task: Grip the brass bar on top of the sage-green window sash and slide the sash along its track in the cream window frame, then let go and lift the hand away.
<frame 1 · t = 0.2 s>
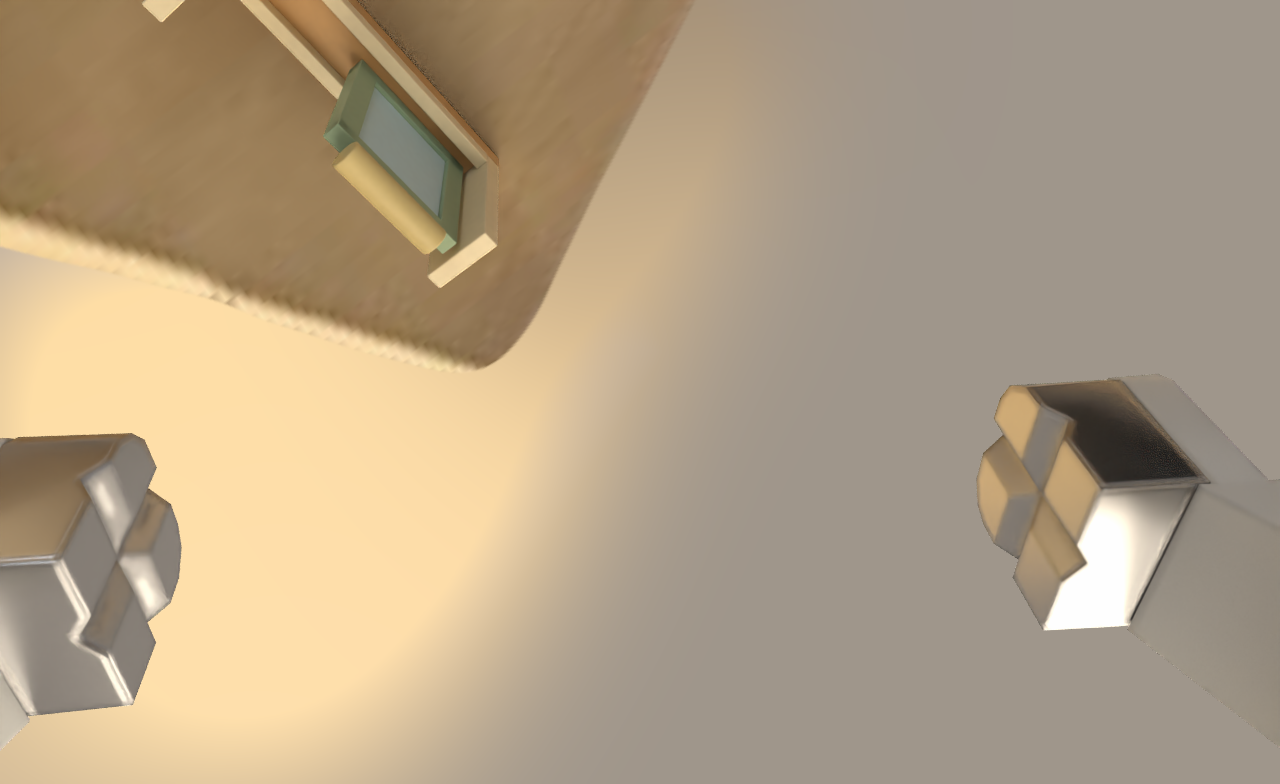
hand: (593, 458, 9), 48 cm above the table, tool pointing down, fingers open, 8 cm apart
sash: (399, 159, 49), point 7 cm above the table, slide at 0.0 cm
window frame: (364, 60, 53), on the table
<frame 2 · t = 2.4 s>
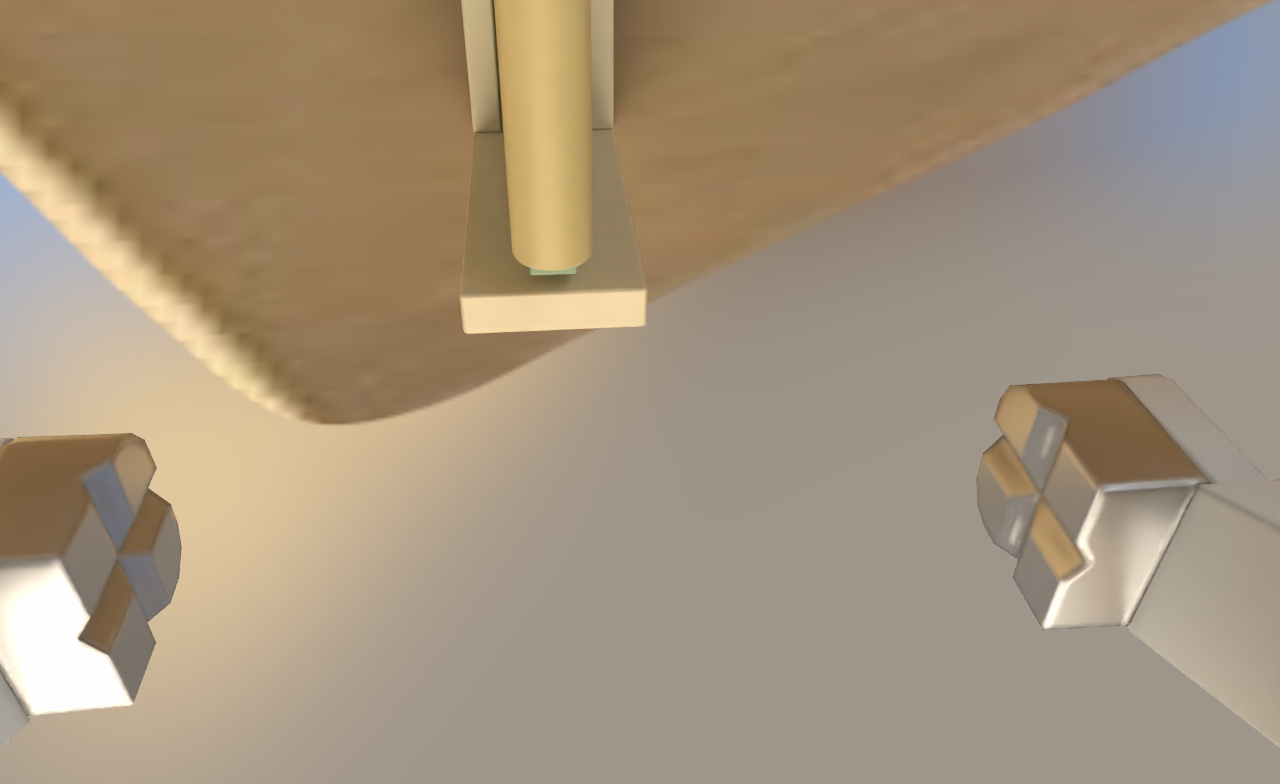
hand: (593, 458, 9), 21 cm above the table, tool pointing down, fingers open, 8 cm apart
sash: (540, 23, 21), point 7 cm above the table, slide at 0.0 cm
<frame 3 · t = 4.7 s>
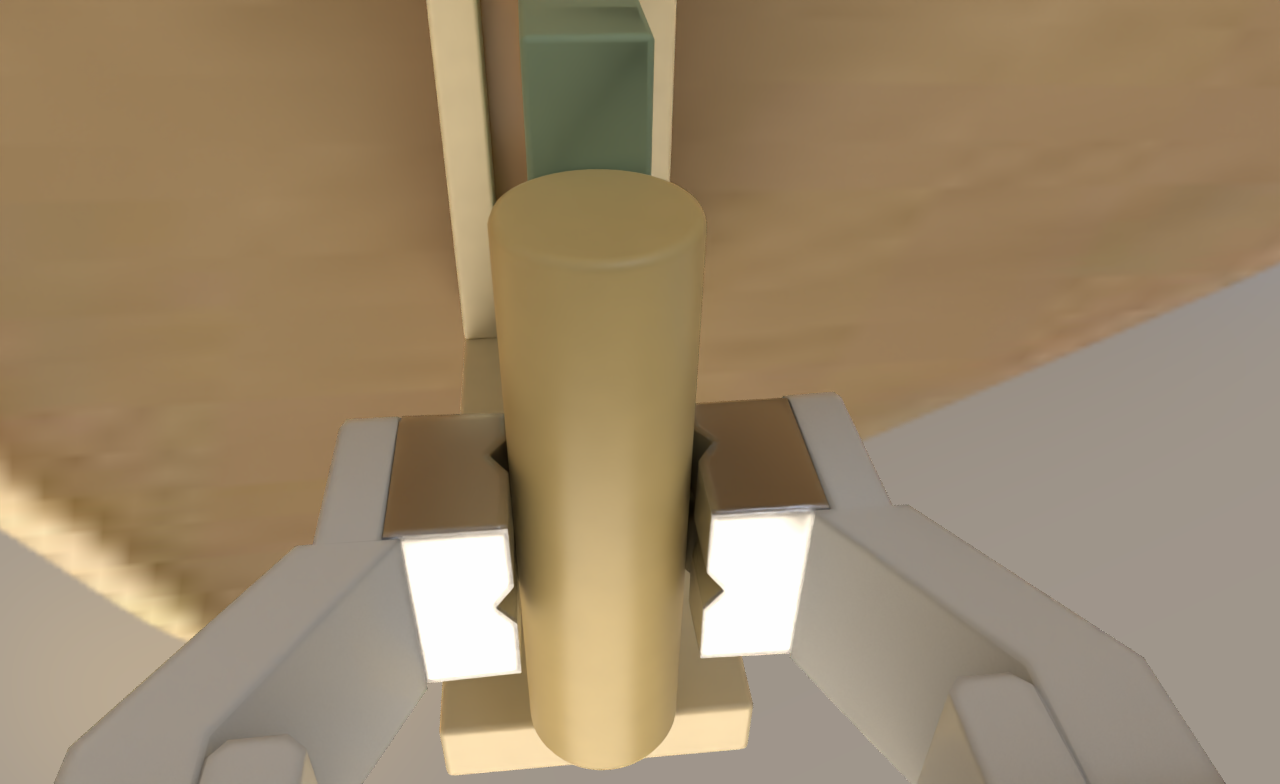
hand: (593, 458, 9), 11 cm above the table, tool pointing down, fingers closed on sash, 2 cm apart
sash: (573, 260, 12), point 7 cm above the table, slide at 0.0 cm, touching gripper
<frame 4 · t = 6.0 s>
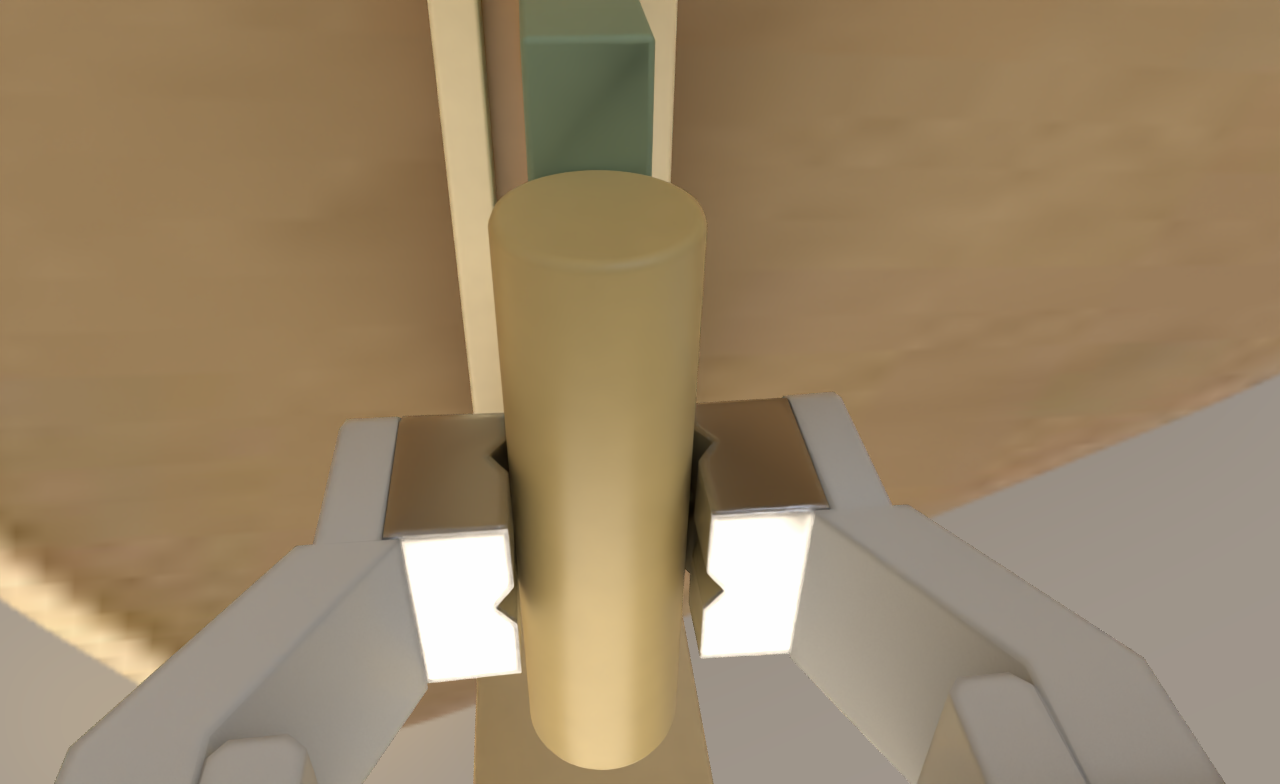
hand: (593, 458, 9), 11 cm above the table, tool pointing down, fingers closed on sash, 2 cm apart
sash: (573, 259, 12), point 7 cm above the table, slide at 4.2 cm, touching gripper
window frame: (555, 110, 18), on the table
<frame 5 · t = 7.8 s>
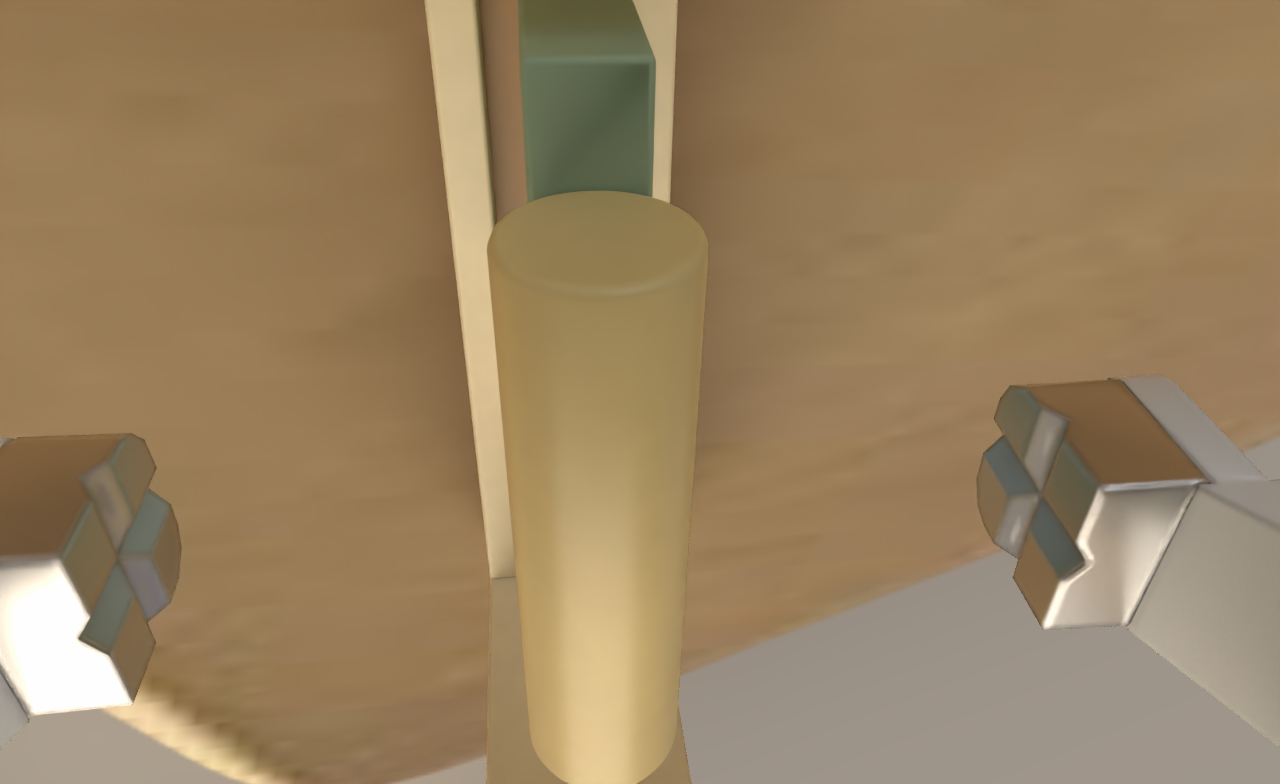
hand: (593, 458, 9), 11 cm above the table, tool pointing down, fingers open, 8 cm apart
sash: (573, 273, 12), point 7 cm above the table, slide at 6.7 cm
window frame: (558, 232, 20), on the table
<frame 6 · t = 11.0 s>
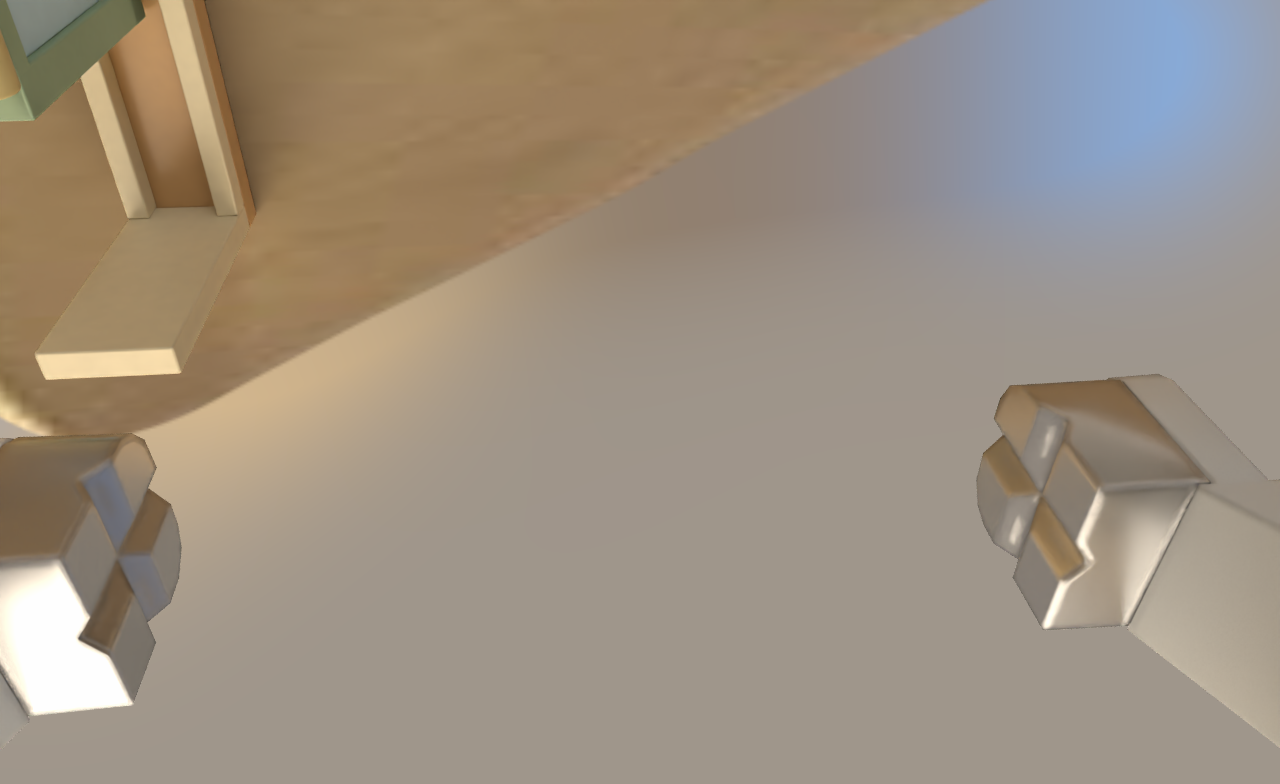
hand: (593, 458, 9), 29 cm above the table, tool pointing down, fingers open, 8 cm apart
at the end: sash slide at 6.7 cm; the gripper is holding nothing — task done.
